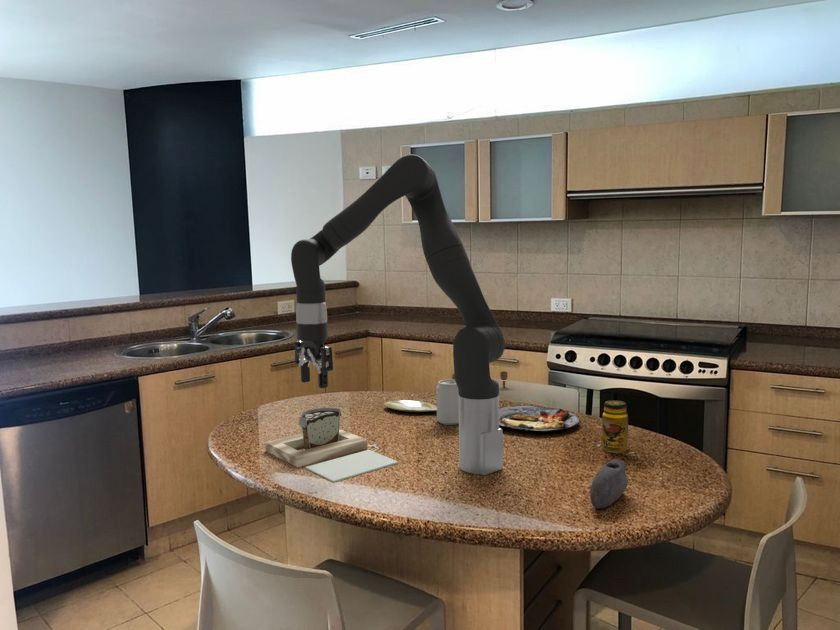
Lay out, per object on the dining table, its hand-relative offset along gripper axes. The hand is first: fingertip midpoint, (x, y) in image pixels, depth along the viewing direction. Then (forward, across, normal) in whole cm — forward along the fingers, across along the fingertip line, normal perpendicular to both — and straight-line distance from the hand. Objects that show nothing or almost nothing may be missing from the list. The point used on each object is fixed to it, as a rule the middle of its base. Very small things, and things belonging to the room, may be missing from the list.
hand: (314, 384), depth 168 cm
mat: (+17, -16, 0) cm, 23 cm away
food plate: (+17, -22, -57) cm, 64 cm away
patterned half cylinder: (+17, 0, 0) cm, 17 cm away
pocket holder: (+17, 0, 0) cm, 17 cm away
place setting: (+18, +21, -75) cm, 80 cm away
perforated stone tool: (+17, -68, -26) cm, 75 cm away
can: (+17, -5, -41) cm, 45 cm away
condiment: (+17, -50, -55) cm, 76 cm away
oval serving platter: (+17, +5, -44) cm, 48 cm away
